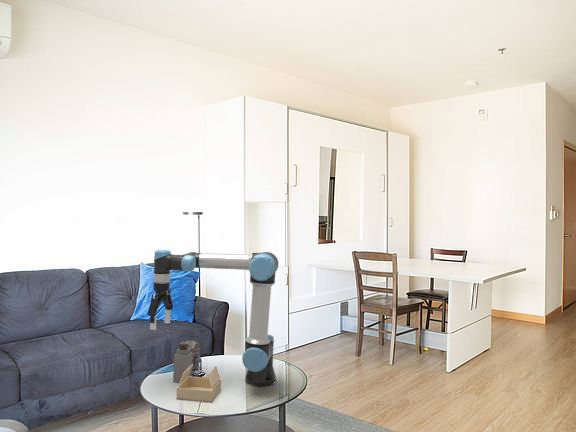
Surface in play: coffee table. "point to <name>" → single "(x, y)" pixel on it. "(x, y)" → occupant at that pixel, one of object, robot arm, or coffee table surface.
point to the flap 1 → (185, 374)
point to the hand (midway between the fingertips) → (160, 326)
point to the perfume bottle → (182, 362)
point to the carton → (198, 389)
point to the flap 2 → (213, 376)
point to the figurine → (194, 352)
